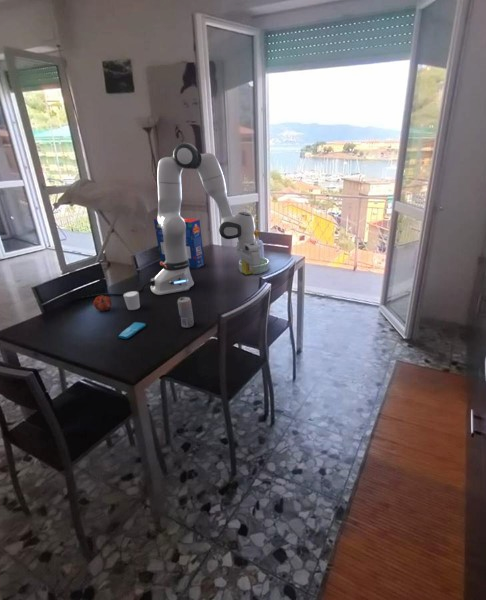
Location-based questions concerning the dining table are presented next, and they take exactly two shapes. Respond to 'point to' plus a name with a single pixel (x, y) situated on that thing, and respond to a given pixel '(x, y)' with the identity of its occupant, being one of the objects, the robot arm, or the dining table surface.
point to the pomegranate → (102, 303)
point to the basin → (258, 266)
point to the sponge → (131, 330)
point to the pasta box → (192, 242)
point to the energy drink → (185, 312)
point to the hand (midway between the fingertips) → (247, 269)
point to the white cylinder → (132, 300)
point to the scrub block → (246, 269)
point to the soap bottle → (259, 242)
